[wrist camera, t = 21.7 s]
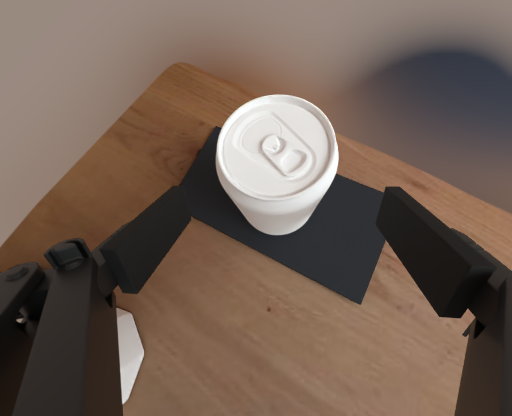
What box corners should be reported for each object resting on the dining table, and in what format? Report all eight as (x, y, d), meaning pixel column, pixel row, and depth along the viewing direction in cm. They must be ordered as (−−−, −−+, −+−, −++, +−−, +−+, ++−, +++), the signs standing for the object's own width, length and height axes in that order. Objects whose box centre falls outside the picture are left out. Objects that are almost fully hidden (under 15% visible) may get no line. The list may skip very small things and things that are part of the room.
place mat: (398, 201, 23) (401, 199, 22) (358, 303, 21) (360, 304, 20) (217, 128, 28) (215, 125, 27) (170, 204, 26) (167, 203, 25)
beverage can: (276, 156, 25) (273, 67, 14) (327, 199, 23) (376, 137, 12) (228, 202, 24) (183, 148, 13) (277, 251, 22) (275, 239, 11)
